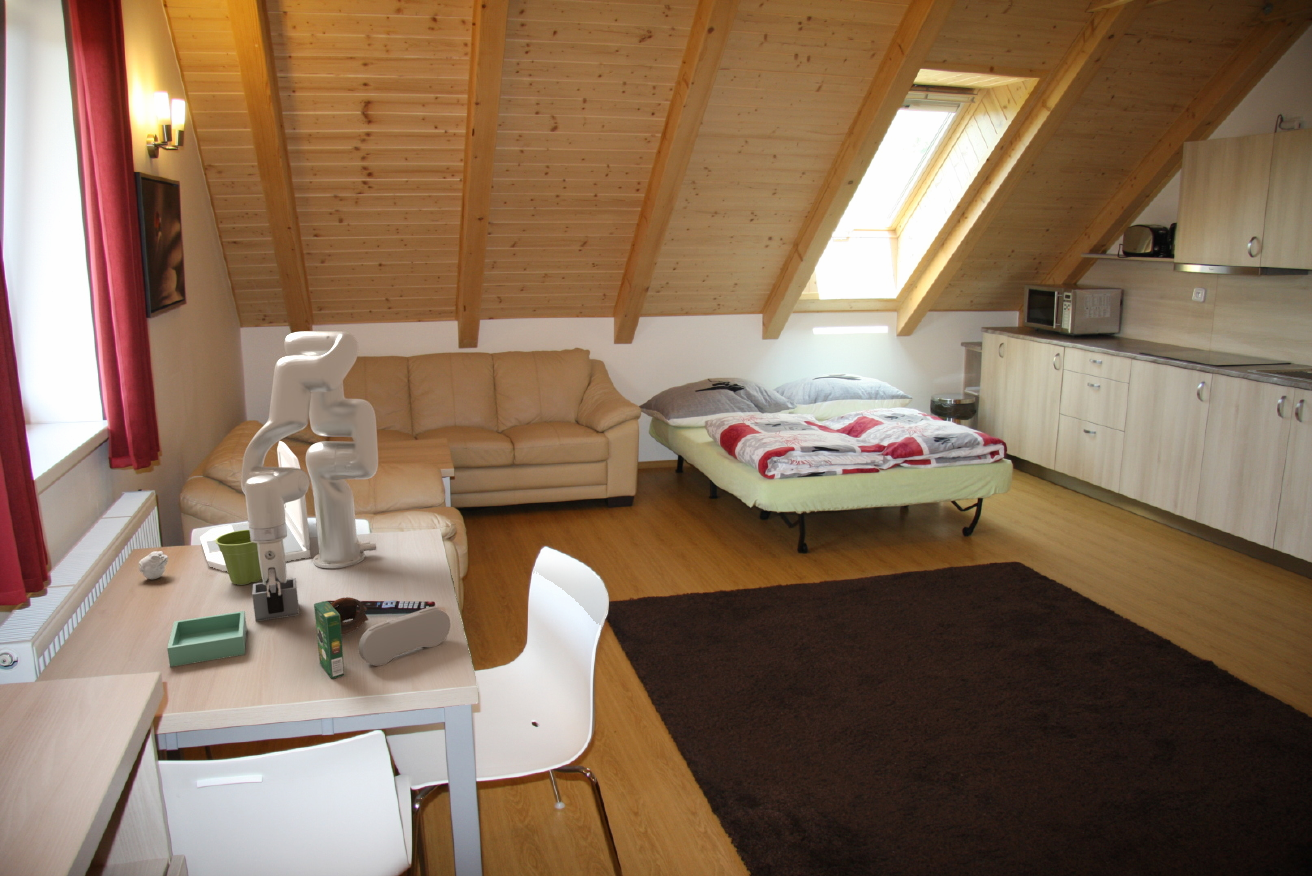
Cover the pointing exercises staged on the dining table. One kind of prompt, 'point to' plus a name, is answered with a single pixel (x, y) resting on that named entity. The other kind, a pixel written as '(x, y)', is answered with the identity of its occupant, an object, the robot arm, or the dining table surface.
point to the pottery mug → (350, 614)
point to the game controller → (404, 635)
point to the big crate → (207, 638)
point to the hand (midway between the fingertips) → (276, 604)
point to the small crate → (288, 600)
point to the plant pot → (240, 557)
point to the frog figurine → (153, 565)
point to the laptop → (294, 515)
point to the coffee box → (329, 639)
